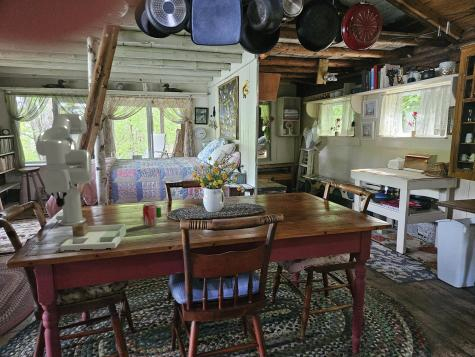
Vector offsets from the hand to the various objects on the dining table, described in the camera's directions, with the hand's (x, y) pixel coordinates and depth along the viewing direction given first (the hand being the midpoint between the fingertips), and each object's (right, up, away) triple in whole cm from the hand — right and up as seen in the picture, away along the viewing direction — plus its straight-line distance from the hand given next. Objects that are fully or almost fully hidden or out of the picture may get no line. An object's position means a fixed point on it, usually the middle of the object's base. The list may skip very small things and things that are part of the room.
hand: (60, 206), depth 143 cm
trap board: (+16, -17, +1) cm, 23 cm away
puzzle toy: (+33, -10, +41) cm, 54 cm away
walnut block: (+8, -14, +3) cm, 16 cm away
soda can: (+35, -13, +25) cm, 45 cm away
